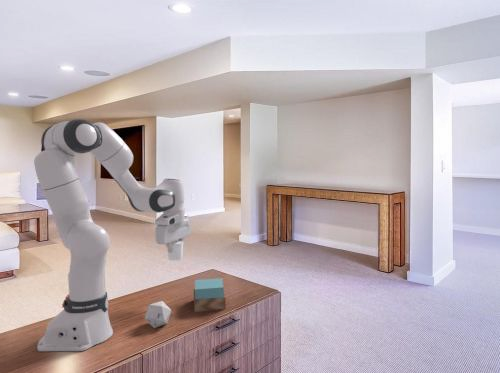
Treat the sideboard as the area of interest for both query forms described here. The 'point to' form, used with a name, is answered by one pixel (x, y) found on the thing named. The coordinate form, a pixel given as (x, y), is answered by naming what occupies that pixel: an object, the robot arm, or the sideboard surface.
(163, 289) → the sideboard surface
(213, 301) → the tower base block
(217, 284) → the tower top block
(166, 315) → the die
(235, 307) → the sideboard surface
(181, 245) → the white rimmed cylinder
